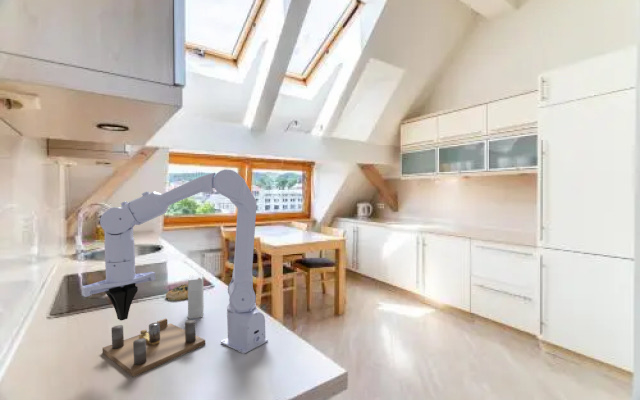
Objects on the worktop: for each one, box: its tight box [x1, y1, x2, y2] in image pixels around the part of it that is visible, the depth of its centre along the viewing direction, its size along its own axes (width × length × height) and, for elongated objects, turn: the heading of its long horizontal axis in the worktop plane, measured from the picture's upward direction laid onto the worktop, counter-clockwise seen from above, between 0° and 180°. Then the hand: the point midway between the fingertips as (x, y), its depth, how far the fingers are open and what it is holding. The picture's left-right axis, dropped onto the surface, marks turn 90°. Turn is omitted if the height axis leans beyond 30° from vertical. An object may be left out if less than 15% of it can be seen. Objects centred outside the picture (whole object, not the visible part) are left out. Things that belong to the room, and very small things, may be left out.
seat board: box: [101, 318, 206, 378], centre depth 78 cm, size 17×17×6 cm
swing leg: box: [138, 321, 160, 345], centre depth 80 cm, size 8×2×5 cm, turn 53°
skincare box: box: [187, 273, 205, 320], centre depth 99 cm, size 6×4×12 cm
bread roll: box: [165, 283, 188, 301], centre depth 117 cm, size 11×11×5 cm
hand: (122, 318), depth 72 cm, fingers closed
